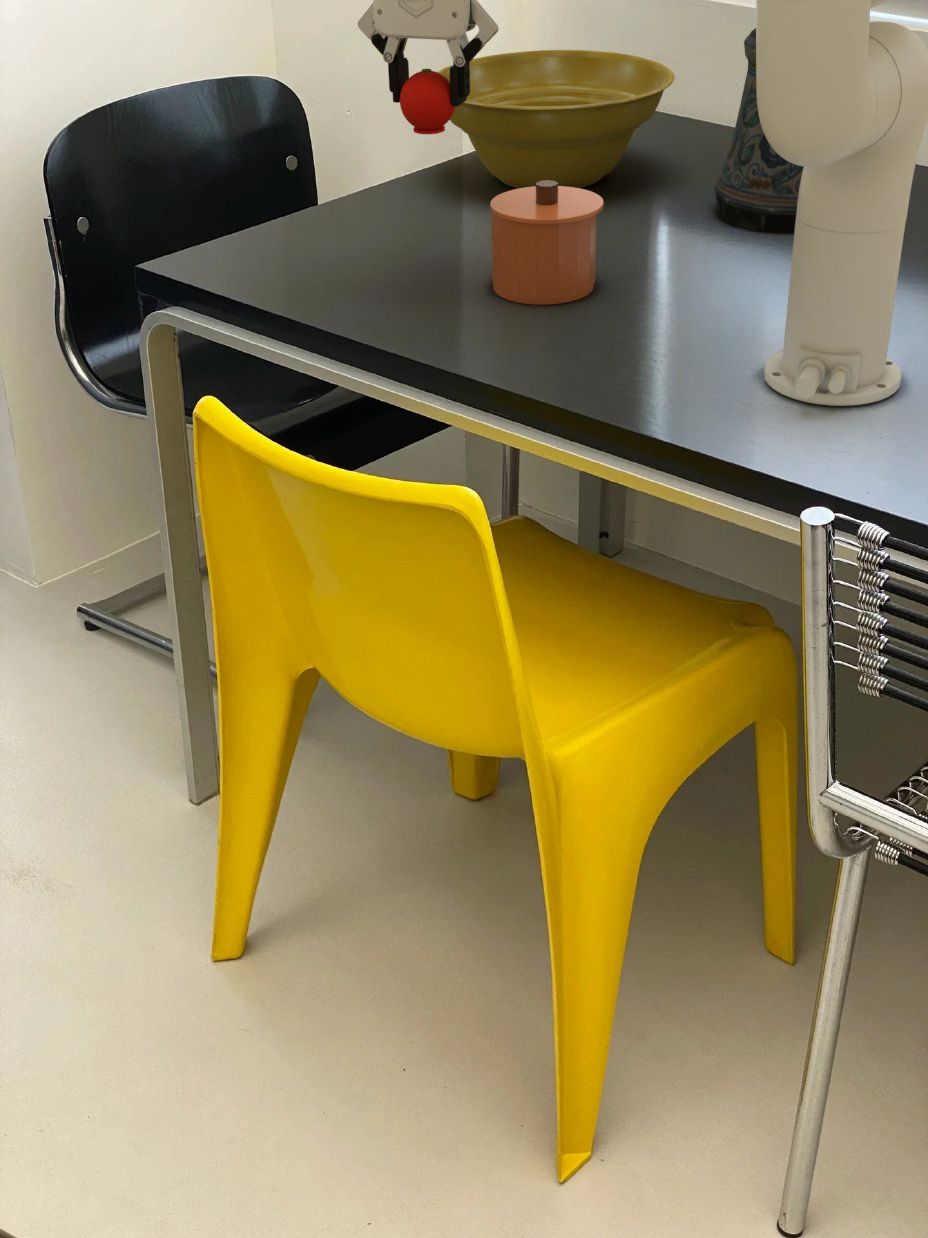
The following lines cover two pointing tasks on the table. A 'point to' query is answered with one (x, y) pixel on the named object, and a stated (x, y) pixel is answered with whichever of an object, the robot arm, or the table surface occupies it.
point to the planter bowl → (557, 112)
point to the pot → (543, 260)
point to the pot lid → (547, 204)
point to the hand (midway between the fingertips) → (430, 99)
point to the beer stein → (756, 169)
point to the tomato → (427, 102)
